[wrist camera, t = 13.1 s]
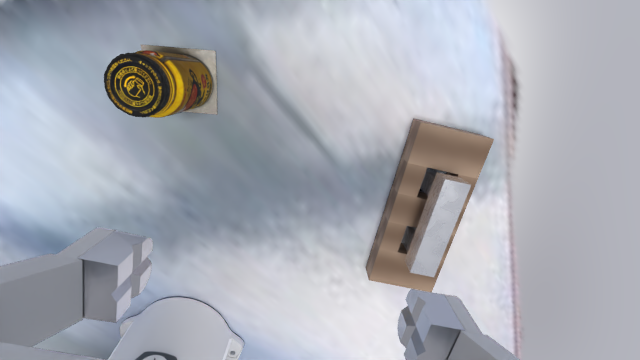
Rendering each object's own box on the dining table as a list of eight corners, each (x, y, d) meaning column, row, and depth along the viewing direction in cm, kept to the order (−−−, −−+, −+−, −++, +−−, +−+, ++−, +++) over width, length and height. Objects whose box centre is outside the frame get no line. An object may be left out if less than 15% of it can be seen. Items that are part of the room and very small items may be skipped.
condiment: (217, 114, 39) (176, 130, 28) (148, 109, 39) (77, 122, 27) (216, 50, 37) (170, 39, 25) (142, 44, 36) (62, 30, 25)
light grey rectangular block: (415, 245, 45) (434, 277, 38) (395, 241, 45) (410, 272, 37) (444, 166, 41) (471, 185, 34) (423, 161, 41) (445, 179, 34)
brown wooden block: (424, 279, 47) (431, 292, 44) (365, 267, 46) (369, 280, 43) (481, 134, 40) (493, 139, 37) (413, 118, 39) (421, 121, 36)
